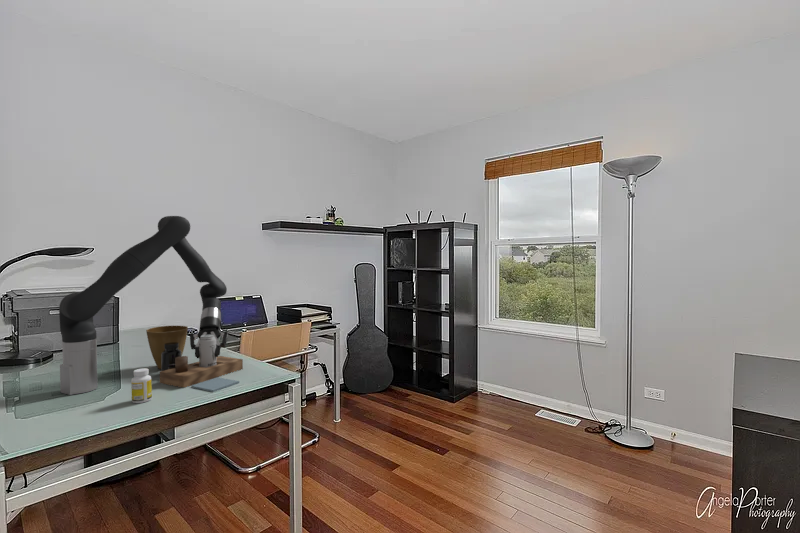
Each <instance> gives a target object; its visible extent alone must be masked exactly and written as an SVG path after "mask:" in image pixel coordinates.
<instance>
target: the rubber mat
mask: <svg viewBox="0 0 800 533" xmlns="http://www.w3.org/2000/svg"><path fill="white" fill-rule="evenodd" d="M237 384H240V381H239V380H234V379H229V378H225V377H216V378H213V379H210V380H207V381H204V382H201V383H197V384H194V385H191V388H192V387H193V389H196V388H197V390H200V391H207V392H211V393H214V392H218V391H220V390H223V389H227V388H229V387H232V386H234V385H237ZM217 390H218V391H217Z"/></svg>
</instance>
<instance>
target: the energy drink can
mask: <svg viewBox="0 0 800 533" xmlns="http://www.w3.org/2000/svg"><path fill="white" fill-rule="evenodd" d="M198 341H199V358H198V362H199V367H205V368H207V367H210V366H214V365H217V363H216V338H215V337H214V335H202V336H201V338H200V340H199V339H198Z"/></svg>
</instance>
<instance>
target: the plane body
mask: <svg viewBox="0 0 800 533" xmlns="http://www.w3.org/2000/svg"><path fill="white" fill-rule="evenodd" d="M188 358H189V356H188V355H182V356H180V357H176V358H175V368H172V369H168V370H165V371H161V370H160V371H159V384H164V385H169V386H172V385H173V387H177V386H178V387H179V388H182V387H183V388H182V389H184V387H185V388H188V387H190V386H192V385H195V384H198V383H200V382H205V381H208V380H211V379H214V378H217V377H219V376H220V377H223V376H225V374H226V375H229V374H232V373H235V372H238V371H241V369H242V370H243V369H244V368H243V365H244V364H243V363H244V362H243V359H242V358H236V357H231V356H230V357H229V356H223V355H218V357H216V363H217V365H214V366H210V367H207V368H205V367H199V361H196V362H192V363H189V362H188V361H189V359H188ZM237 370H238V371H237ZM234 371H235V372H234ZM231 372H232V373H231ZM228 373H229V374H228ZM222 375H223V376H222ZM220 377H219V378H220ZM187 386H188V387H187Z"/></svg>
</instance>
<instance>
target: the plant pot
mask: <svg viewBox="0 0 800 533" xmlns="http://www.w3.org/2000/svg"><path fill="white" fill-rule="evenodd" d="M187 335H188V326H185V325H161V326H155V327H154V326H153V327H152V328H148V329H146V336H147V341H148V345H149V350H150V353H151V355H152V359H153V360H154V363H155V365H156V367H157V369H159V370H161V354H162V352H163V351H164V350H165V349H164V345H165V343H171V342H177V343H179V348H178V349H179V350H181V356H183V353H184V349H185V346H186V342H187V341H186V340H187Z"/></svg>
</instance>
